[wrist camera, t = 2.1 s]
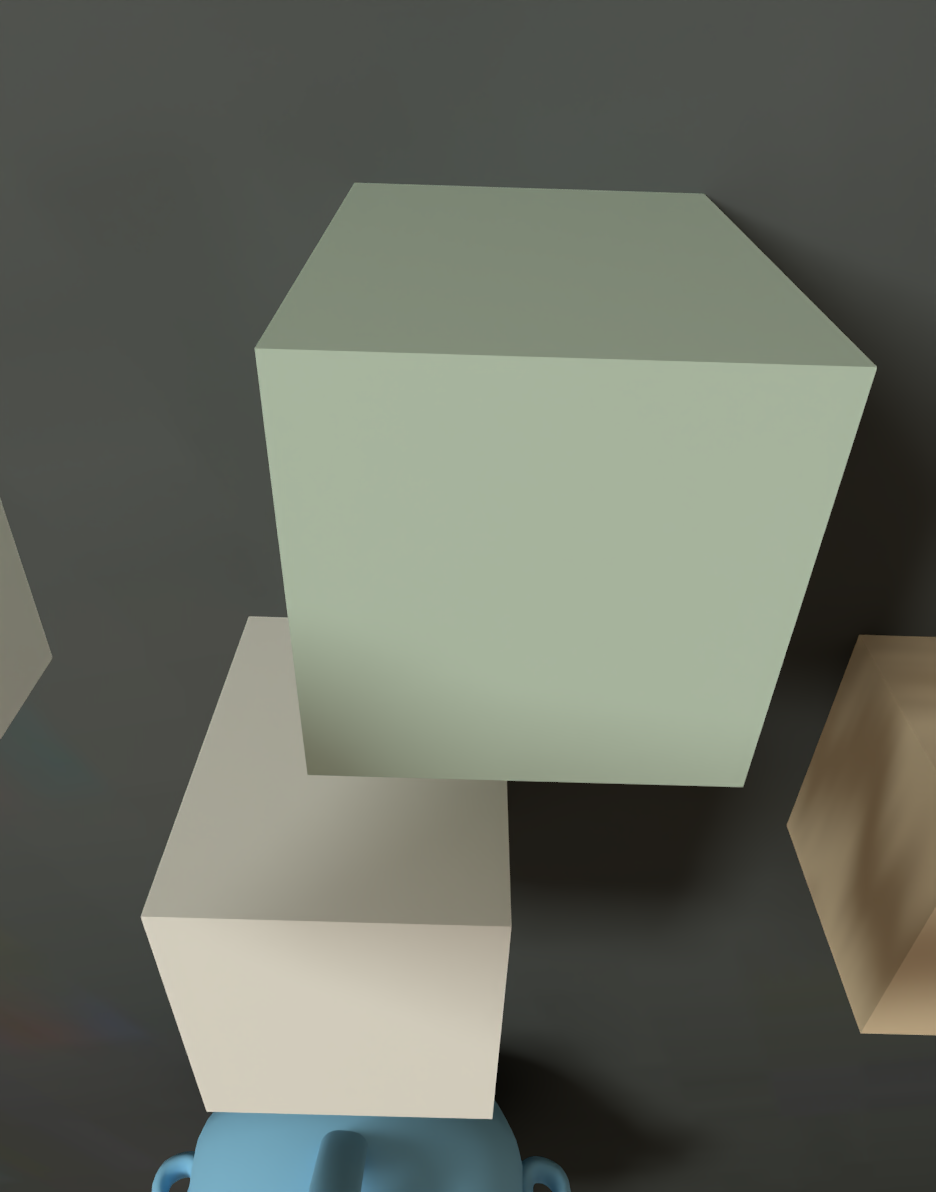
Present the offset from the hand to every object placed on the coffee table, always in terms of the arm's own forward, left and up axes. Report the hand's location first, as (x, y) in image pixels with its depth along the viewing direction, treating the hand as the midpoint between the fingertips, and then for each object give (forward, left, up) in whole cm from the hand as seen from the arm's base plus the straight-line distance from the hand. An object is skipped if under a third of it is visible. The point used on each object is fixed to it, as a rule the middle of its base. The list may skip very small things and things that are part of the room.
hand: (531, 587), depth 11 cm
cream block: (+10, -3, -7) cm, 12 cm away
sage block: (0, 0, -7) cm, 7 cm away
